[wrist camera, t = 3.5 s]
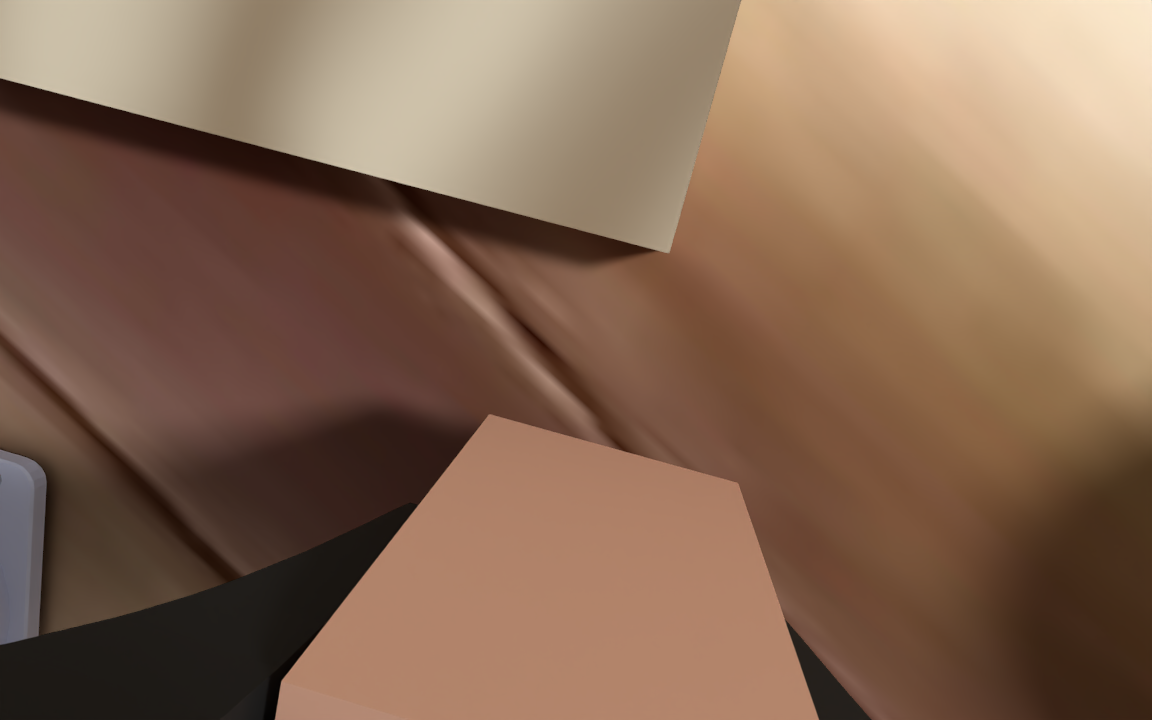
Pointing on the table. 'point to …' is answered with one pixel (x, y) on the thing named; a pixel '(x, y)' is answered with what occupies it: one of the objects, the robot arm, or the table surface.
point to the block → (559, 599)
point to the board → (416, 90)
